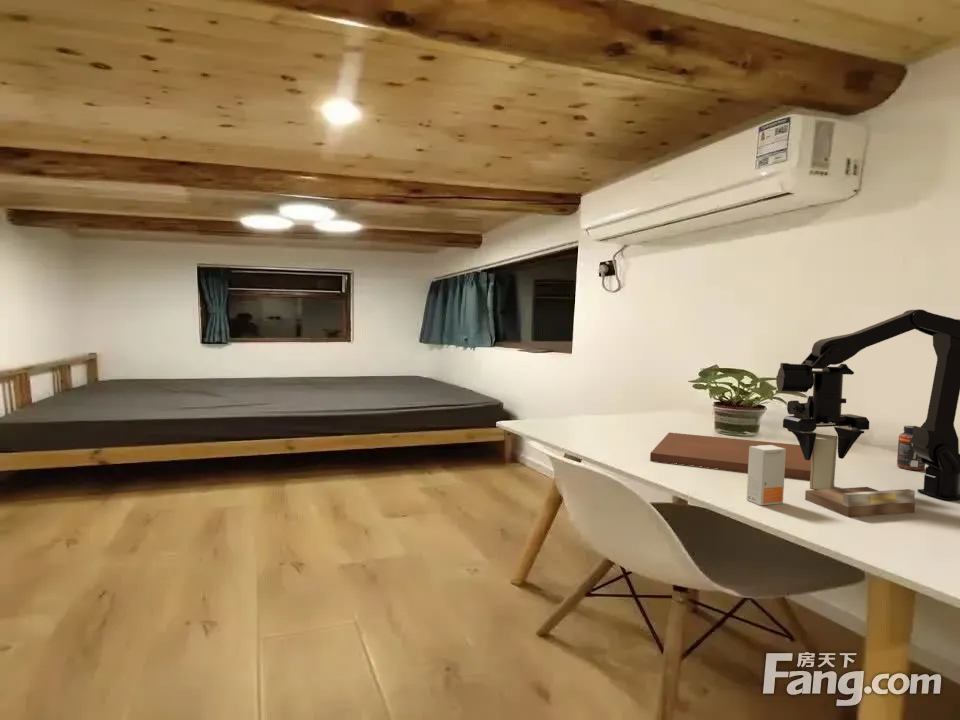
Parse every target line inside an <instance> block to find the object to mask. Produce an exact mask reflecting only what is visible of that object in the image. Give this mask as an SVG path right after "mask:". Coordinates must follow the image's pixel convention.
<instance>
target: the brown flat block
mask: <svg viewBox="0 0 960 720" xmlns="http://www.w3.org/2000/svg"><path fill="white" fill-rule="evenodd" d="M915 495H916V491H915V490H914V489H909V488H908V489H907V488H905V489H904V488H903V489H890V490H878V489H876V488H872V487H868V486H857V487H841V488H833V489H822V490H817V489H810V490H805V494H804V500H806V501H808V502H811V503H812V504H815V505H818V506H821V507H823V508H826V509H827V510H830V511H832V512H835V513H838V514H839V515H843V516H844V517H847V518H850V517H851V518H853V517H854V518H856V517H864V516H865V517H867V515H869V516H879V515H878V514H883V515H892V514H891V513H897V514H904V513H903V512H911V513H915V508H916V502H915Z"/></svg>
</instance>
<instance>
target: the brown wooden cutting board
mask: <svg viewBox="0 0 960 720" xmlns="http://www.w3.org/2000/svg"><path fill="white" fill-rule="evenodd" d="M759 445H774V446H777V447H781V448H784V449H786V458H785V474H784V478H785V479H786V478H789V479H794V480H795V479H796V480H804V481H810V475H811V460H812V455H811V458H810V460H805V458H804V455H803V453H802V450H801V447H800V444H794V443H784V442H783V443H782V442H772V441H761V440H751V439H743V438H742V439H741V438H731V437H730V438H728V437H718V436H708V435H699V434H691V433H690V434H689V433H679V432H668V433H667V434H666V435H665V436H664V438H662V440H661V441H660V442H659V443H658V444H656V446H655V447H654V448H653V449H652V450H651V452H650V457H649V462H654V461H658V462H657V463H662V462H668V463H667V464H670V463H677V464H676V465H679V464H684V465H683V466H687V465H694V466H693V467H695V466H702V467H701V468H703V467H709V468H708V469H712V468H718V469H717V470H720V469H725V470H724V471H728V470H732V471H731V472H737V471H739V472H740V473H745V472H746V473H745V474H748V463H749V447H750V446H759Z"/></svg>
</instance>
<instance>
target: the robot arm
mask: <svg viewBox="0 0 960 720" xmlns="http://www.w3.org/2000/svg"><path fill="white" fill-rule="evenodd" d="M913 330H916V331H918V332H920V333H922V334H926V335H928V336H931V337H932V346H933V349H934V351H935V355H936V365H935V370H934V376H933V382H932V385H931V386H932V387H931V393H930V397H929V402H928V408H927V414H926V419H925V420H924V422H923V423H922V425H920V426H917V425H912V426H913V436H912V439H911V440H910V443H912V444H913V450H914V451H915V453H916V454H917V455H919V456H920V459H921V462H922V463H923V464H925V474H924V476H923V477H924V478H923V488H919V489H917V492H918V493H921V494H925V495H927V496H929V497H930V496H931V497H934V498H937V499H940V500H944V501H953V500H960V451H959V450H960V449H959V447H960V445H959V443H960V442H959V441H960V440H959V436H958V434H957V431H956V430H957V429H956V428H955V419H956V413H957V409H958V404H959V397H960V318H952V317H949V316H945V315H940V314H936V313H933V312H929V311H927V310H925V309H919V308H918V309H909V310H905V311H904V312H902V313H900V314H898V315H896V316H893V317H890V318H888V319H886V320H885V319H884V320H883V321H880V322H878V323H875V324H872V325H870V326H867V327H865V328H862V329H859V330H857V331H855V332H852V333H847V334H842V335H837V336H831V337H827V338H822V339H819V340H817V341H815V343H813V345H812V348H811V352H810V353H809V354H808V355H807V357H806V358H805V359H804V360H803V361H802V362H801V363H788V362H780V364H779V366H780V368H779V369H778V371H777V375H776V377H775V379H776V381H775V382H776V389H777V390H778V392H783V393H785V392H786V393H807V392H808V391H809V390H812V395H808V397H807V401H806V402H800V401H799V400H797V399H796V400H789V401H787V406H786V409H787V414H788V415H786V416H785V417H784V418H782V419H783V420H782V428H784V429H787V431H788V432H791V433H792V434H793V435H794V436H795V437H796V439H797V442H798V445H800V447H801V450H802V453H803V455H804V458H805V460H810V458H811V455H812V451H813V447H814V443H815V439H816V435H817V434H818V432H814V431H815V430H816V429H817V428H825V427H833V429H834V431H835V432H836V434H837V456H838V459H841V460H843V459H845V457H846V455H847V454H848V452H849V451H850V449H851V448H852V446H853V445H854V444H855V443H856V441H857V440H858V439H859V438H860V436H861V435H862V434H865V431H866V430H867V431H868V430H870V420H869V419H868V418H867V417H866V416H862V415H855V414H852V413H851V414H850V413H849V414H848V413H846V414H844V413H843V414H842V404H847V398H843V382H844V375H850V376H852V375H854V374H855V372H854V371H853V370H851V368H849V366H848V365H847V364H846V363H844V362H846V361H847V360H849V359H851V358H853V357H854V356H856V354H859V352H861V351H863V350H864V349H866V348H868V347H871V346H873V345H876V344H880V343H881V342H884V341H887V340H890V339H893V338H894V337H896V336H901V335H902V334H905V333H907V332H910V331H913ZM831 365H833V366H831ZM836 365H838V366H836ZM813 369H814V370H813ZM812 388H813V389H812ZM926 465H927V466H926Z"/></svg>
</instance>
